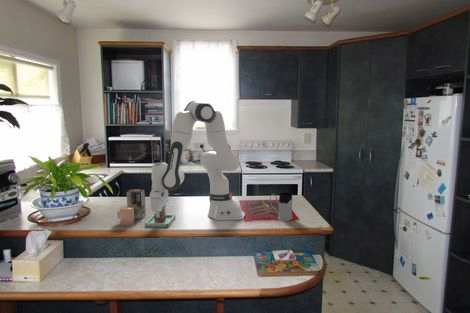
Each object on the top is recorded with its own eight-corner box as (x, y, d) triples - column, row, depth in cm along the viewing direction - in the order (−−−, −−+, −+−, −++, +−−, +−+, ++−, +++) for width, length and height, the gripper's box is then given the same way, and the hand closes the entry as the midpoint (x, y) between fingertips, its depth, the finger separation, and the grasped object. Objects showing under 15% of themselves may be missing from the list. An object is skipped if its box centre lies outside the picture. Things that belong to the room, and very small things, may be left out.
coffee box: (146, 215, 199) (145, 189, 197) (142, 218, 193) (141, 192, 190) (131, 214, 200) (130, 189, 198) (127, 218, 194) (126, 191, 191)
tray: (175, 217, 195) (175, 214, 194) (168, 227, 179) (167, 223, 179) (154, 217, 196) (153, 214, 195) (144, 226, 180) (144, 223, 179)
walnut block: (165, 219, 189) (165, 211, 189) (163, 222, 184) (162, 214, 184) (157, 219, 190) (157, 211, 189) (154, 222, 185) (154, 213, 184)
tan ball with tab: (136, 221, 188) (135, 206, 187) (131, 226, 180) (130, 210, 179) (121, 221, 189) (120, 205, 187) (115, 225, 181) (114, 209, 180)
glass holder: (290, 221, 189) (290, 196, 187) (266, 218, 195) (267, 193, 193) (294, 217, 197) (295, 193, 195) (271, 214, 203) (272, 190, 201)
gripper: (160, 186, 196) (161, 208, 198) (148, 195, 176) (149, 220, 178) (170, 186, 195) (171, 209, 197) (159, 195, 175) (160, 220, 177)
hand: (160, 214), depth 187 cm, fingers open, 8 cm apart
